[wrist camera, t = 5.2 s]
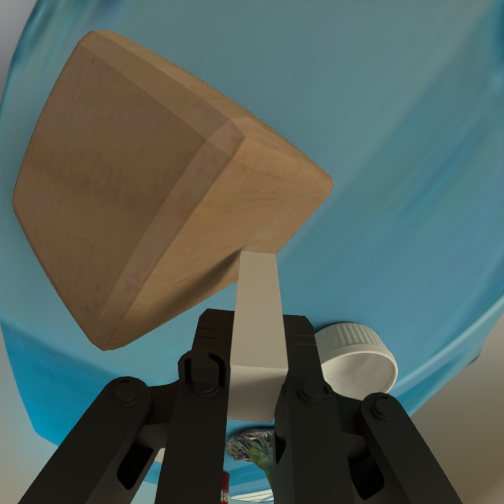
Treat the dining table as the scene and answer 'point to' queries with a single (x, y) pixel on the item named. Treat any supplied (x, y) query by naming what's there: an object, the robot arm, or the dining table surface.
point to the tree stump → (254, 449)
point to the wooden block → (152, 189)
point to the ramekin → (355, 360)
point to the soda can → (225, 487)
